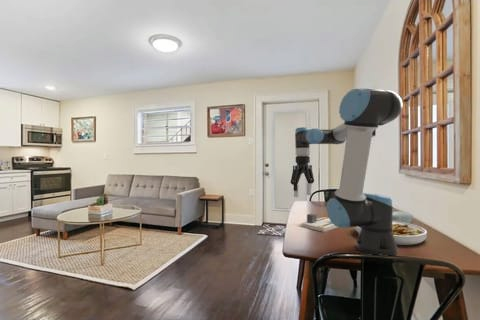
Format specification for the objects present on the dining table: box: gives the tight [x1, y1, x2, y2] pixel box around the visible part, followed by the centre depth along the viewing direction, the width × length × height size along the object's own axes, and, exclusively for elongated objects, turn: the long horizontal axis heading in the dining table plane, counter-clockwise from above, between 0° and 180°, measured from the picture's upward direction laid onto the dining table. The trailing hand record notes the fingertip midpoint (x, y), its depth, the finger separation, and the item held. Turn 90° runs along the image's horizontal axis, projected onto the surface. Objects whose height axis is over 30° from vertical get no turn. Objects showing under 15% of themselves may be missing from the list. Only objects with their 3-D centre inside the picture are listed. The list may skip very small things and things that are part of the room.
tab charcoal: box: [306, 213, 318, 223], centre depth 146 cm, size 4×4×4 cm
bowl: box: [354, 221, 428, 246], centre depth 125 cm, size 30×30×8 cm
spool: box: [392, 210, 414, 224], centre depth 143 cm, size 14×10×10 cm
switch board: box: [301, 216, 338, 233], centre depth 146 cm, size 22×14×2 cm, turn 129°
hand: (302, 195), depth 141 cm, fingers open, 10 cm apart
